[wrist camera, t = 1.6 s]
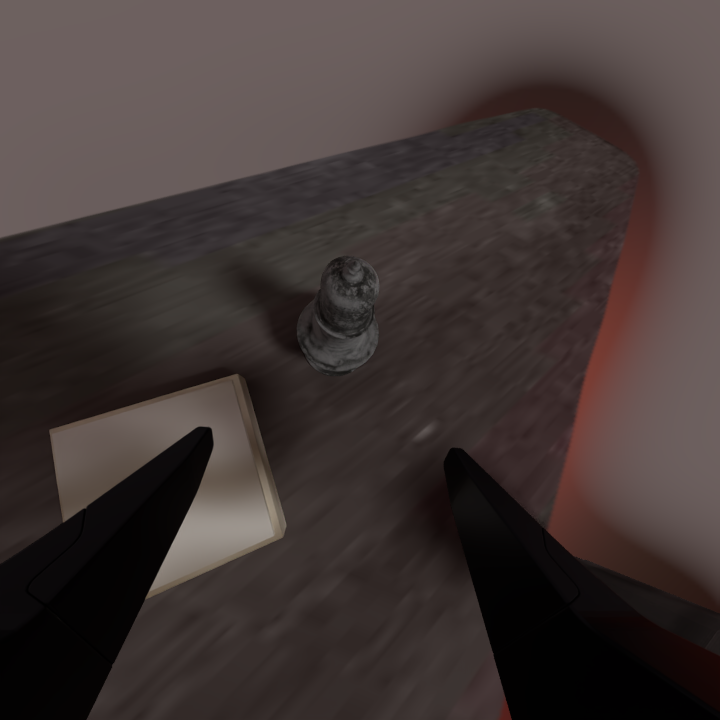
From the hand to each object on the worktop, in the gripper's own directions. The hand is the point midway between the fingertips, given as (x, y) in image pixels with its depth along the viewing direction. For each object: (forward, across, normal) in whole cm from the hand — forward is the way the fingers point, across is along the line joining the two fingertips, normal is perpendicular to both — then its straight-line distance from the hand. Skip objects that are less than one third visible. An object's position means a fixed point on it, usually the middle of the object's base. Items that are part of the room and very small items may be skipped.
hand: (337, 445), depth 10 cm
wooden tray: (+5, +9, +10) cm, 15 cm away
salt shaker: (+13, 0, +3) cm, 13 cm away
